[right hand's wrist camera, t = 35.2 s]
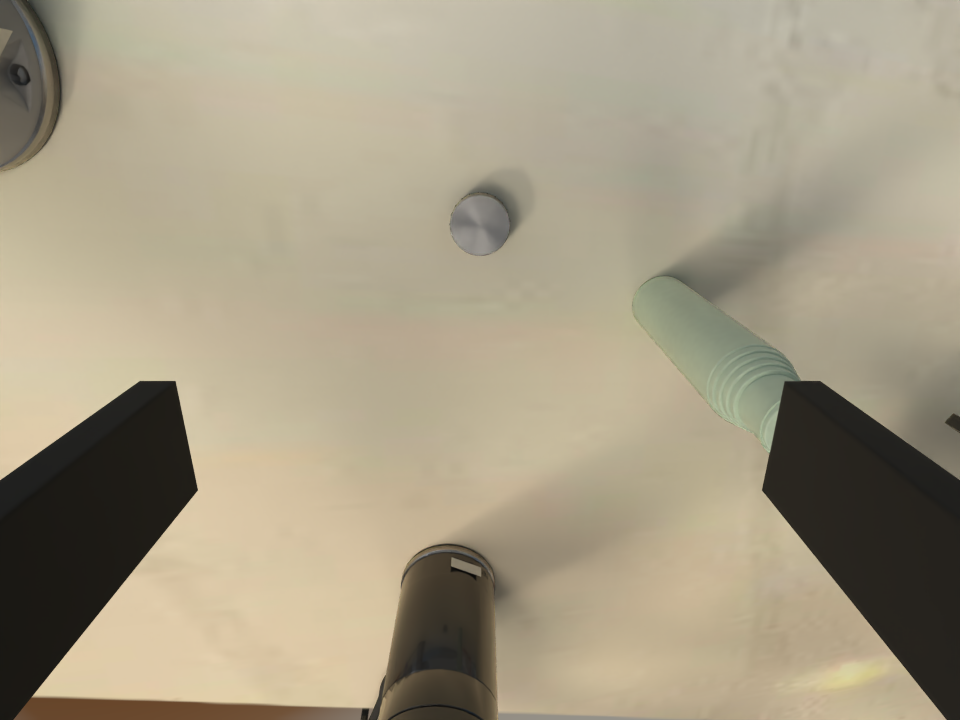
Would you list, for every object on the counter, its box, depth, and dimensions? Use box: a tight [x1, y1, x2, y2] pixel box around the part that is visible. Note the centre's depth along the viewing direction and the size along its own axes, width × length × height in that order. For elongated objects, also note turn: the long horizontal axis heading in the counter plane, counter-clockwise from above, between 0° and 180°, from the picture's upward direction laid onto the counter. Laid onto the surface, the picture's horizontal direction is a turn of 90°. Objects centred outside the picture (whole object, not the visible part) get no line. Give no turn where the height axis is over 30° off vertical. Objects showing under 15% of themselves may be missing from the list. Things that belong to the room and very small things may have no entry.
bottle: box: [632, 276, 801, 454], centre depth 38 cm, size 5×5×22 cm
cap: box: [450, 192, 510, 256], centre depth 45 cm, size 5×5×2 cm
